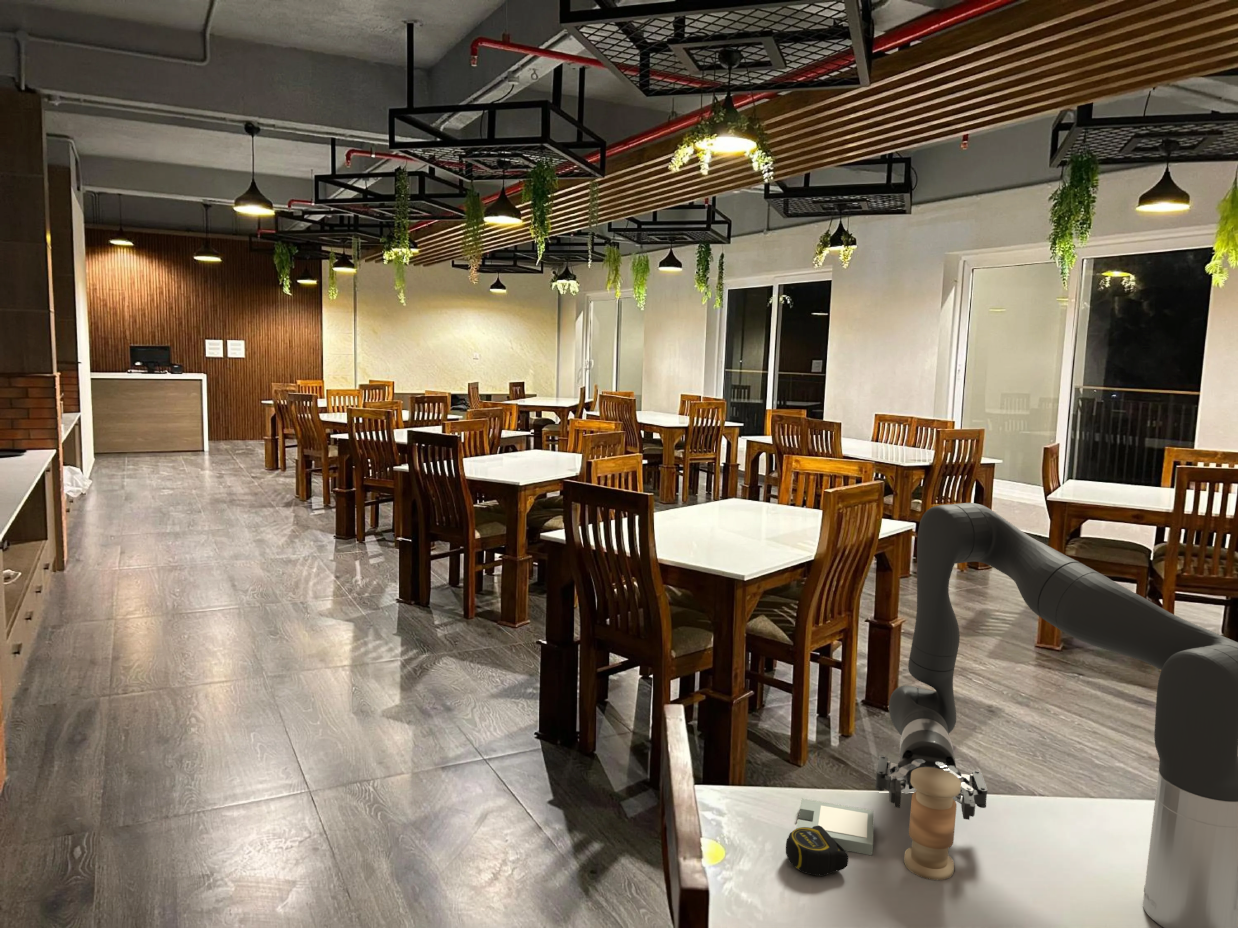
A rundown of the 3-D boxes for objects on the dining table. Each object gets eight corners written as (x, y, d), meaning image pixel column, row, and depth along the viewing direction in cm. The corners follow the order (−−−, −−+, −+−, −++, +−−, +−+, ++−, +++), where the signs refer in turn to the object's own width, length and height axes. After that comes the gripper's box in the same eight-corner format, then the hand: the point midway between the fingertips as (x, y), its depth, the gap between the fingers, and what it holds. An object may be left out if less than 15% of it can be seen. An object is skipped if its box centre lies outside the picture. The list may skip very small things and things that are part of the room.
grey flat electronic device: (872, 820, 123) (873, 809, 122) (872, 855, 114) (873, 843, 114) (801, 807, 126) (801, 797, 125) (795, 840, 117) (795, 829, 117)
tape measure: (849, 877, 110) (851, 849, 109) (800, 885, 108) (802, 856, 107) (822, 847, 116) (824, 820, 116) (775, 853, 114) (777, 827, 114)
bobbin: (951, 857, 114) (959, 771, 113) (955, 884, 108) (963, 793, 107) (903, 848, 116) (910, 763, 114) (904, 874, 110) (911, 785, 109)
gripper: (878, 721, 130) (877, 770, 115) (980, 736, 126) (993, 789, 111) (875, 768, 131) (873, 823, 116) (976, 785, 127) (988, 844, 112)
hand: (932, 806), depth 113 cm, fingers open, 8 cm apart
